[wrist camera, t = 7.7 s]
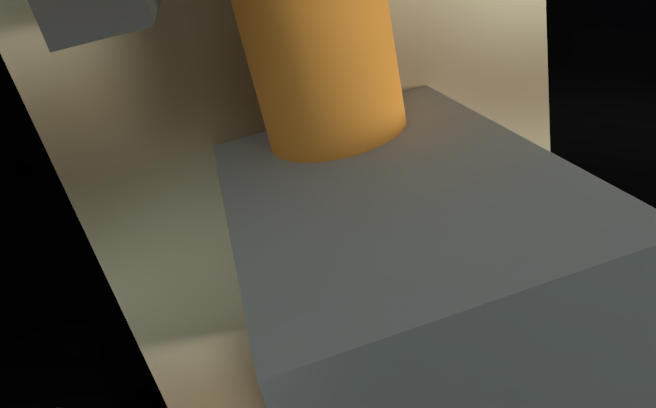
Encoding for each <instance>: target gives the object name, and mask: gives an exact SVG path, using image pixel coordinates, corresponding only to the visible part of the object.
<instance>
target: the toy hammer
mask: <svg viewBox="0 0 656 408" xmlns="http://www.w3.org/2000/svg"><path fill="white" fill-rule="evenodd" d="M230 1H231V4H232V8H233V11H234V15H235V19H236V22H237V26H238V30H239V33H240V37H241V40H242V44H243V48H244V51H245V55H246V59H247V62H248V66H249V69H250V73H251V77H252V80H253V84H254V88H255V91H256V95H257V98H258V102H259V106H260V109H261V113H262V117H263V120H264V124H265V128H266V131H264V132H261V133H257V134H254V135H250V136H247V137H243V138H240V139H236V140H233V141H229V142H226V143H222V144H219V145H215V146H213V151H214V156H215V161H216V167H217V172H218V177H219V182H220V188H221V193H222V198H223V204H224V209H225V214H226V219H227V225H228V230H229V235H230V241H231V246H232V251H233V256H234V262H235V267H236V272H237V278H238V283H239V288H240V293H241V299H242V304H243V309H244V314H245V320H246V325H247V330H248V336H249V341H250V346H251V351H252V357H253V362H254V367H255V373H256V378H257V382H258V385H259V388H260V391H261V393H262V396H263V399H264V402H265V405H266V407H267V408H656V209H655V208H653V207H652V206H650V205H648V204H646V203H644V202H642V201H640V200H639V199H637V198H635V197H633V196H631V195H629V194H627V193H626V192H624V191H622V190H620V189H618V188H616V187H614V186H613V185H611V184H609V183H607V182H605V181H603V180H601V179H600V178H598V177H596V176H594V175H592V174H590V173H588V172H587V171H585V170H583V169H581V168H579V167H577V166H575V165H574V164H572V163H570V162H568V161H566V160H564V159H562V158H561V157H559V156H557V155H555V154H553V153H551V152H549V151H548V150H546V149H544V148H542V147H540V146H538V145H536V144H535V143H533V142H531V141H529V140H527V139H525V138H523V137H522V136H520V135H518V134H516V133H514V132H512V131H510V130H509V129H507V128H505V127H503V126H501V125H499V124H497V123H496V122H494V121H492V120H490V119H488V118H486V117H484V116H483V115H481V114H479V113H477V112H475V111H473V110H471V109H470V108H468V107H466V106H464V105H462V104H460V103H458V102H457V101H455V100H453V99H451V98H449V97H447V96H445V95H444V94H442V93H440V92H438V91H436V90H434V89H432V88H431V87H429V86H427V85H426V86H422V87H419V88H415V89H412V90H408V91H405V92H402V89H401V82H400V76H399V69H398V63H397V56H396V50H395V43H394V37H393V30H392V24H391V17H390V11H389V4H388V0H230Z"/></svg>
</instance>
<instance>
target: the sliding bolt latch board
mask: <svg viewBox="0 0 656 408" xmlns="http://www.w3.org/2000/svg"><path fill="white" fill-rule="evenodd" d="M388 4H389V11H390V17H391V24H392V30H393V37H394V43H395V50H396V56H397V63H398V69H399V76H400V82H401V89H402V92H405V91H408V90H412V89H415V88H419V87H422V86H426V85H427V86H429V87H431V88H432V89H434V90H436V91H438V92H440V93H442V94H444V95H445V96H447V97H449V98H451V99H453V100H455V101H457V102H458V103H460V104H462V105H464V106H466V107H468V108H470V109H471V110H473V111H475V112H477V113H479V114H481V115H483V116H484V117H486V118H488V119H490V120H492V121H494V122H496V123H497V124H499V125H501V126H503V127H505V128H507V129H509V130H510V131H512V132H514V133H516V134H518V135H520V136H522V137H523V138H525V139H527V140H529V141H531V142H533V143H535V144H536V145H538V146H540V147H542V148H544V149H546V150H548V151H549V152H550V123H549V90H548V57H547V25H546V0H388ZM0 54H1V56H2V58H3V60H4V62H5V64H6V66H7V68H8V71H9V73H10V75H11V77H12V79H13V81H14V83H15V85H16V88H17V90H18V92H19V94H20V96H21V98H22V100H23V102H24V104H25V107H26V109H27V111H28V113H29V115H30V117H31V119H32V121H33V123H34V126H35V128H36V130H37V132H38V134H39V136H40V138H41V140H42V143H43V145H44V147H45V149H46V151H47V153H48V155H49V157H50V159H51V162H52V164H53V166H54V168H55V170H56V172H57V174H58V176H59V179H60V181H61V183H62V185H63V187H64V189H65V191H66V193H67V195H68V198H69V200H70V202H71V204H72V206H73V208H74V210H75V212H76V214H77V217H78V219H79V221H80V223H81V225H82V227H83V229H84V231H85V234H86V236H87V238H88V240H89V242H90V244H91V246H92V248H93V250H94V253H95V255H96V257H97V259H98V261H99V263H100V265H101V267H102V269H103V272H104V274H105V276H106V278H107V280H108V282H109V284H110V286H111V289H112V291H113V293H114V295H115V297H116V299H117V301H118V303H119V305H120V308H121V310H122V312H123V314H124V316H125V318H126V320H127V322H128V324H129V327H130V329H131V331H132V333H133V335H134V337H135V339H136V341H137V344H138V346H139V348H140V350H141V352H142V354H143V356H144V358H145V360H146V363H147V365H148V367H149V369H150V371H151V373H152V375H153V377H154V380H155V382H156V384H157V386H158V388H159V390H160V392H161V394H162V396H163V399H164V401H165V403H166V405H167V407H168V408H267V407H266V405H265V402H264V399H263V396H262V393H261V391H260V388H259V385H258V382H257V378H256V373H255V367H254V362H253V357H252V351H251V346H250V341H249V336H248V330H247V325H246V320H245V314H244V309H243V304H242V299H241V293H240V288H239V283H238V278H237V272H236V267H235V262H234V256H233V251H232V246H231V241H230V235H229V230H228V225H227V219H226V214H225V209H224V204H223V198H222V193H221V188H220V182H219V177H218V172H217V167H216V161H215V156H214V151H213V146H215V145H219V144H222V143H226V142H229V141H233V140H236V139H240V138H243V137H247V136H250V135H254V134H257V133H261V132H264V131H266V128H265V124H264V120H263V117H262V113H261V109H260V106H259V102H258V98H257V95H256V91H255V88H254V84H253V80H252V77H251V73H250V69H249V66H248V62H247V59H246V55H245V51H244V48H243V44H242V40H241V37H240V33H239V30H238V26H237V22H236V19H235V15H234V11H233V8H232V4H231V1H230V0H0Z"/></svg>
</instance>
